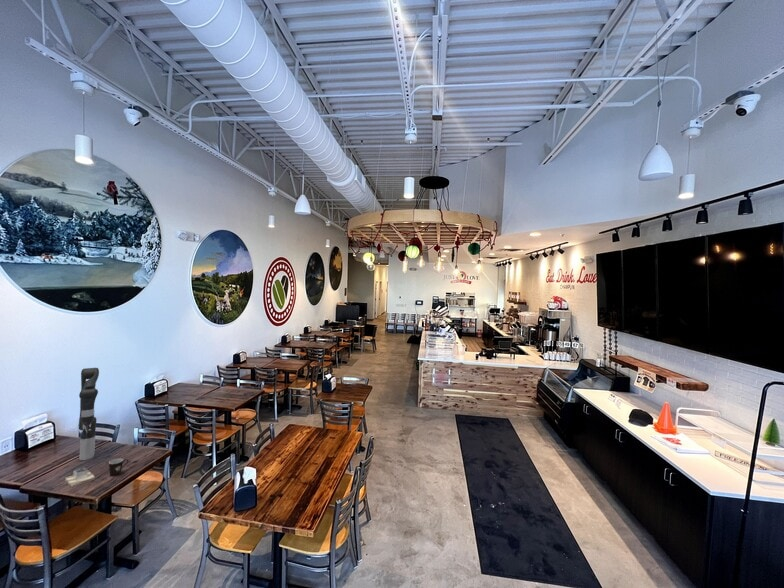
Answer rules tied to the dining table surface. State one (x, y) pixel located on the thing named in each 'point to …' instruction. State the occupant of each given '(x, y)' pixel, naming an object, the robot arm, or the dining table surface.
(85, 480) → the post plate
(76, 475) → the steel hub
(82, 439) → the robot arm
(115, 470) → the coffee mug
